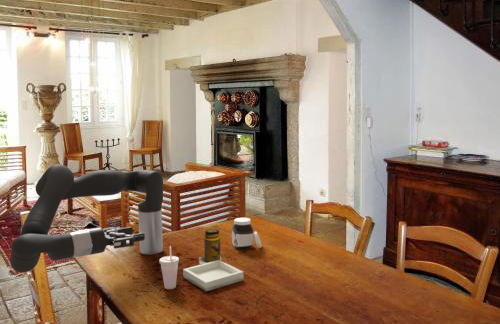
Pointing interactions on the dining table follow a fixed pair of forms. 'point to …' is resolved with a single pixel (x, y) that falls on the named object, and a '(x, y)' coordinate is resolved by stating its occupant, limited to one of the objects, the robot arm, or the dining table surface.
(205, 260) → the condiment
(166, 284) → the smoothie
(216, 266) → the tray
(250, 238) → the spread jar
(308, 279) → the dining table surface
